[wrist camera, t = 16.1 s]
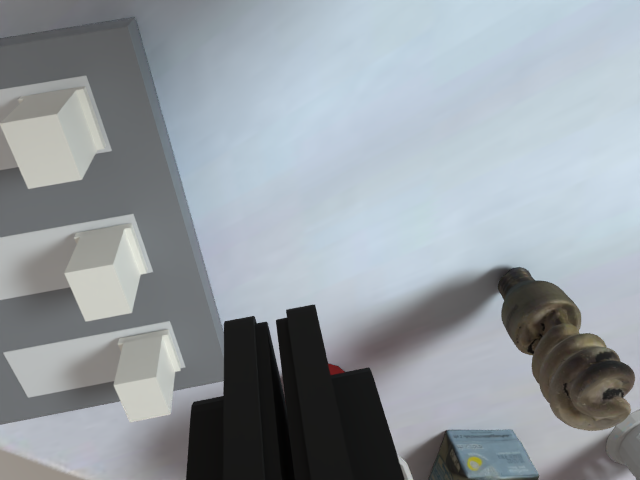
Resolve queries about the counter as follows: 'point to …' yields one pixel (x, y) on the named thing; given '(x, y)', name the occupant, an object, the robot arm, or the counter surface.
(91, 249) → the block
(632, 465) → the french press
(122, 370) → the block
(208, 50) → the counter surface
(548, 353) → the light bulb
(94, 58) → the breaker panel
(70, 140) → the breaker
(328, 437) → the robot arm
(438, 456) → the beverage carton
